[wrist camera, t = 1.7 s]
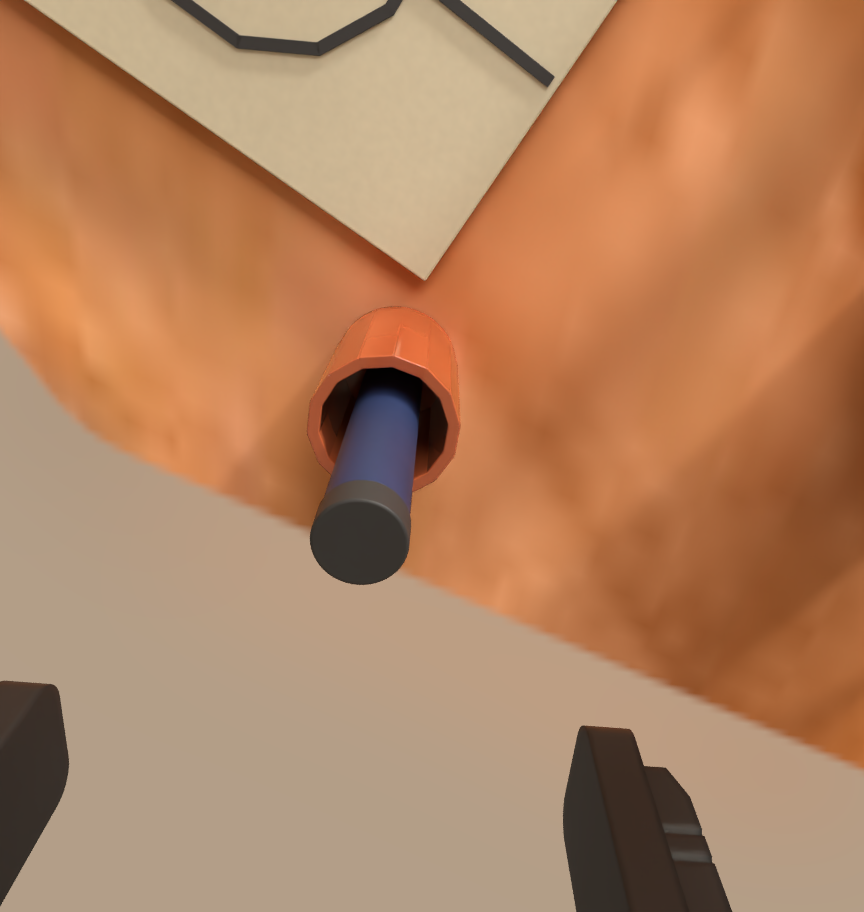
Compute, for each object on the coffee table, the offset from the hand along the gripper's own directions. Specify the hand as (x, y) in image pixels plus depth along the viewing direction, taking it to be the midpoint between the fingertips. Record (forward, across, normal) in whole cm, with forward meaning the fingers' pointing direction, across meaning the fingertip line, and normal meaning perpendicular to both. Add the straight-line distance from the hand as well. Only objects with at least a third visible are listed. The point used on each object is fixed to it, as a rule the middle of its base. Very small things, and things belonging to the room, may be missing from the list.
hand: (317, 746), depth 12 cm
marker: (+20, 0, 0) cm, 20 cm away
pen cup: (+20, 0, 0) cm, 20 cm away
